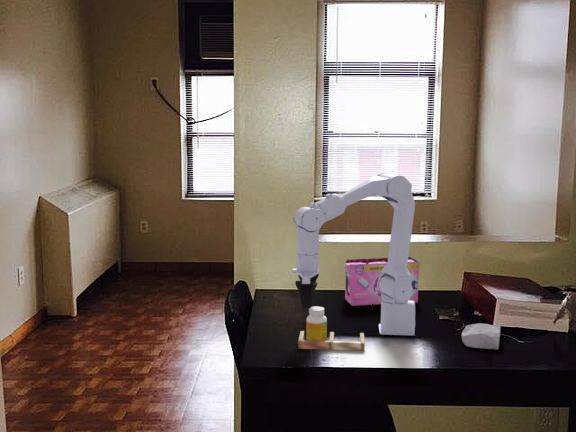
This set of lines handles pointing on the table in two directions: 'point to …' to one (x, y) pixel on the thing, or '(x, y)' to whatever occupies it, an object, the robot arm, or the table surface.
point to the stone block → (481, 336)
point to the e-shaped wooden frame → (331, 343)
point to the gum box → (372, 280)
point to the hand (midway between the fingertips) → (307, 303)
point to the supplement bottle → (316, 324)
